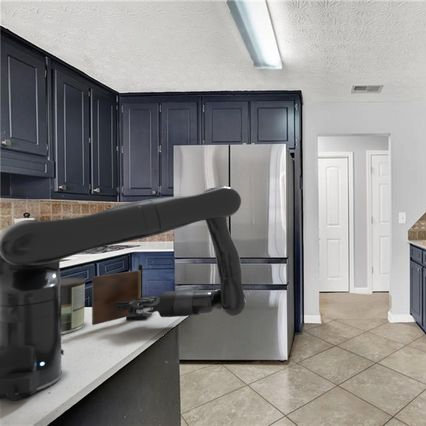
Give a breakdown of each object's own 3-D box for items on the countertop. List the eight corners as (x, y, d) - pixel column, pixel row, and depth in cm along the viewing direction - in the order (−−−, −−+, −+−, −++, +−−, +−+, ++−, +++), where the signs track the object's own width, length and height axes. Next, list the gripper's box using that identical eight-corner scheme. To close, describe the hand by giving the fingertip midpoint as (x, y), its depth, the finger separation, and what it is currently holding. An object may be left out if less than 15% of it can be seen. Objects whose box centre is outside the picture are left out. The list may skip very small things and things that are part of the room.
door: (93, 325, 87) (93, 277, 87) (91, 324, 88) (92, 276, 88) (141, 313, 98) (141, 270, 97) (139, 312, 98) (139, 270, 98)
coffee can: (49, 339, 81) (49, 287, 81) (32, 331, 86) (32, 282, 86) (92, 326, 91) (92, 279, 90) (75, 320, 95) (75, 275, 95)
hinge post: (146, 319, 97) (146, 266, 96) (125, 320, 95) (126, 266, 95) (152, 314, 101) (152, 263, 101) (132, 315, 100) (133, 263, 100)
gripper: (184, 285, 98) (126, 287, 95) (172, 297, 85) (104, 300, 82) (184, 308, 98) (126, 311, 95) (172, 324, 85) (103, 327, 82)
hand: (116, 306), depth 88 cm, fingers closed
